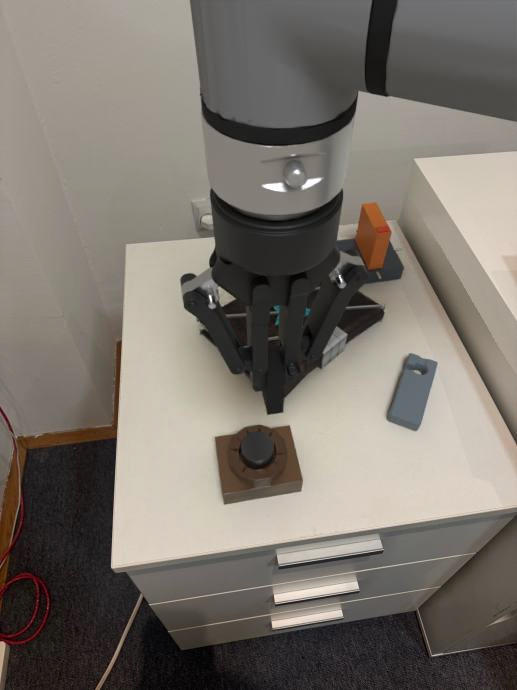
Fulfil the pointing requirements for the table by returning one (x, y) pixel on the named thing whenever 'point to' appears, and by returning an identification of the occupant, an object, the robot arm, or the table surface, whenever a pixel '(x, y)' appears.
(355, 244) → the plate
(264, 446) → the release button
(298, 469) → the block
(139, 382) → the table surface
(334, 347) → the book
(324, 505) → the table surface
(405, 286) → the table surface
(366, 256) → the orange handle lever
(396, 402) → the bracket
